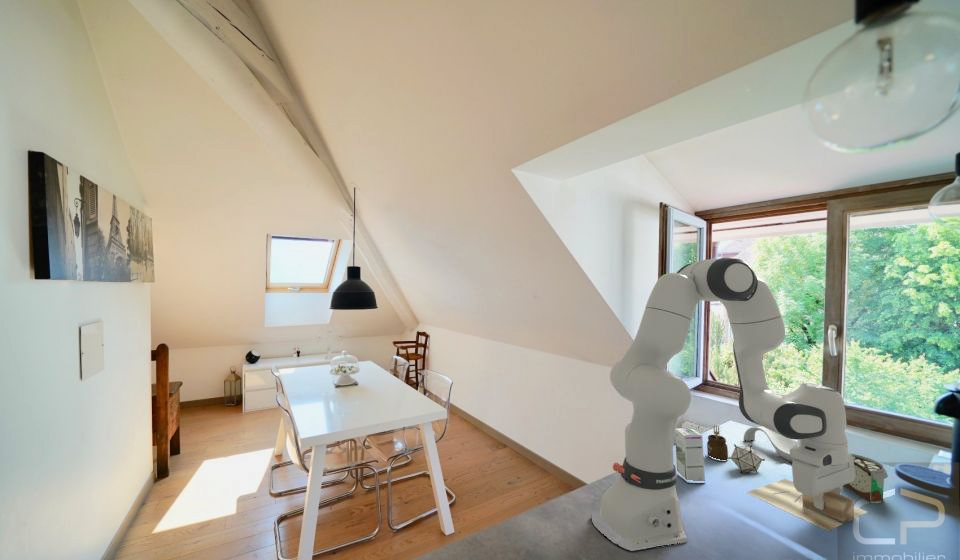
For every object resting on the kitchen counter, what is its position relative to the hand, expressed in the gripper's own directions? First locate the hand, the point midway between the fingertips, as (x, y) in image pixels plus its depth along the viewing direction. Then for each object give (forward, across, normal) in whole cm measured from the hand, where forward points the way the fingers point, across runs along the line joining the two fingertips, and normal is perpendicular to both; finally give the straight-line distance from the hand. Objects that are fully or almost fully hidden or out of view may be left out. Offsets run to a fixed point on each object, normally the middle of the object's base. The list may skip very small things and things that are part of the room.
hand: (827, 505), depth 91 cm
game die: (+3, -6, -23) cm, 24 cm away
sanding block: (+2, 0, 0) cm, 2 cm away
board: (+3, 0, -5) cm, 6 cm away
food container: (+3, -20, 0) cm, 20 cm away
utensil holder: (+3, -7, -33) cm, 34 cm away
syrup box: (+3, +14, -27) cm, 31 cm away
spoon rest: (+3, -30, -27) cm, 41 cm away
